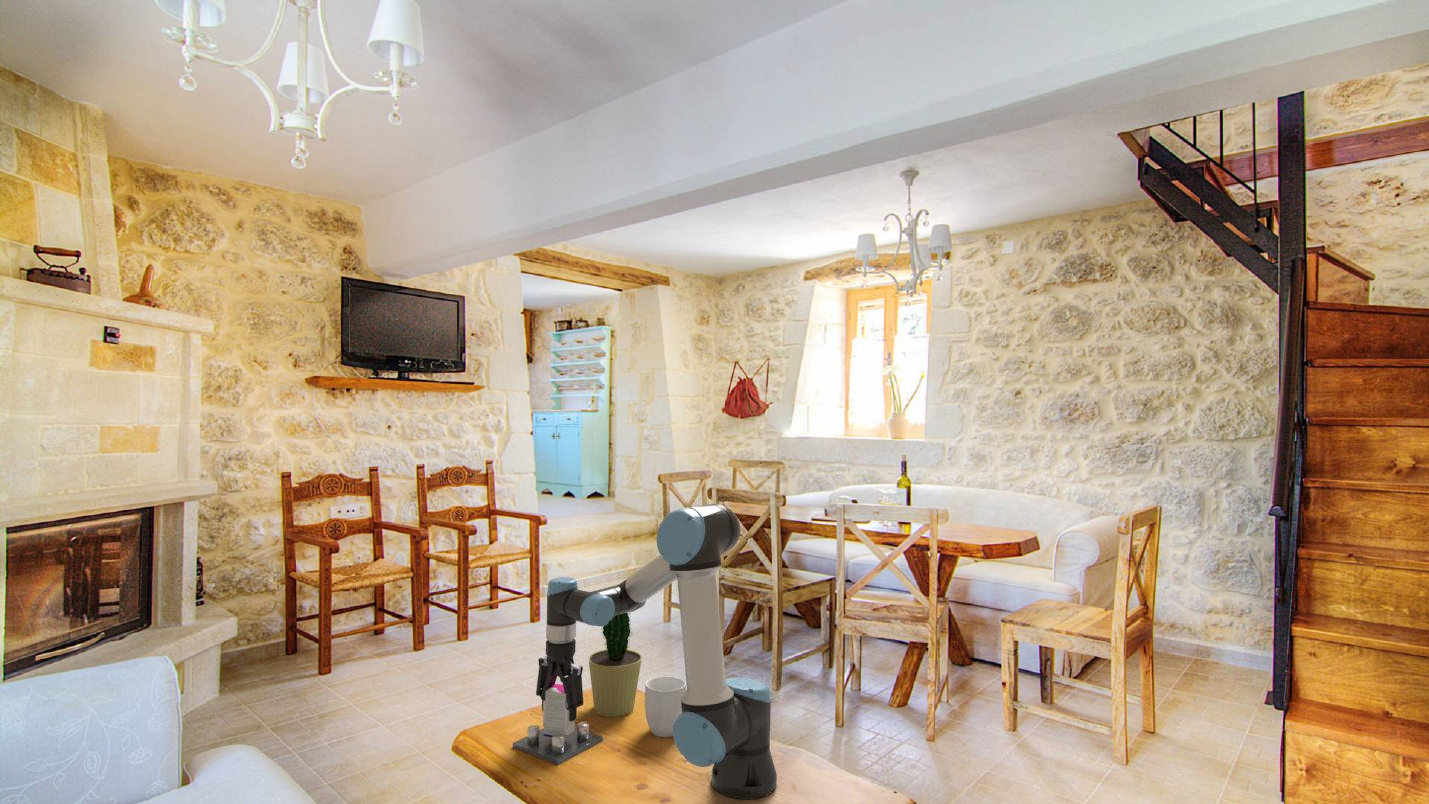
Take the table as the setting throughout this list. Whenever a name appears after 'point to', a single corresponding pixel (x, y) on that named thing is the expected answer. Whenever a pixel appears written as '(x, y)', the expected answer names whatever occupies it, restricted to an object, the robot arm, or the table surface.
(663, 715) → the mug
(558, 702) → the supplement box
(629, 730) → the table surface
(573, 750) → the chassis
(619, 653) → the potted cactus
